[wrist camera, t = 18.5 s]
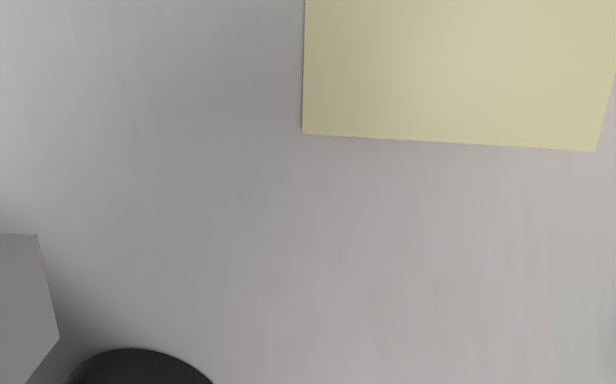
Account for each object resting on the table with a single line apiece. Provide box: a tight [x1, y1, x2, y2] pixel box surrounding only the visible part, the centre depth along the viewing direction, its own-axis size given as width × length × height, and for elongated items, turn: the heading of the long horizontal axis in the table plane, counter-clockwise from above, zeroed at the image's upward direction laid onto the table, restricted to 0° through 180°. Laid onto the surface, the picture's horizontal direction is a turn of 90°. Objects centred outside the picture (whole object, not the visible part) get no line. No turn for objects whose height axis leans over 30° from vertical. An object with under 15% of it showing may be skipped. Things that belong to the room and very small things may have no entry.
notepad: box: [302, 0, 616, 151], centre depth 31 cm, size 18×14×1 cm
